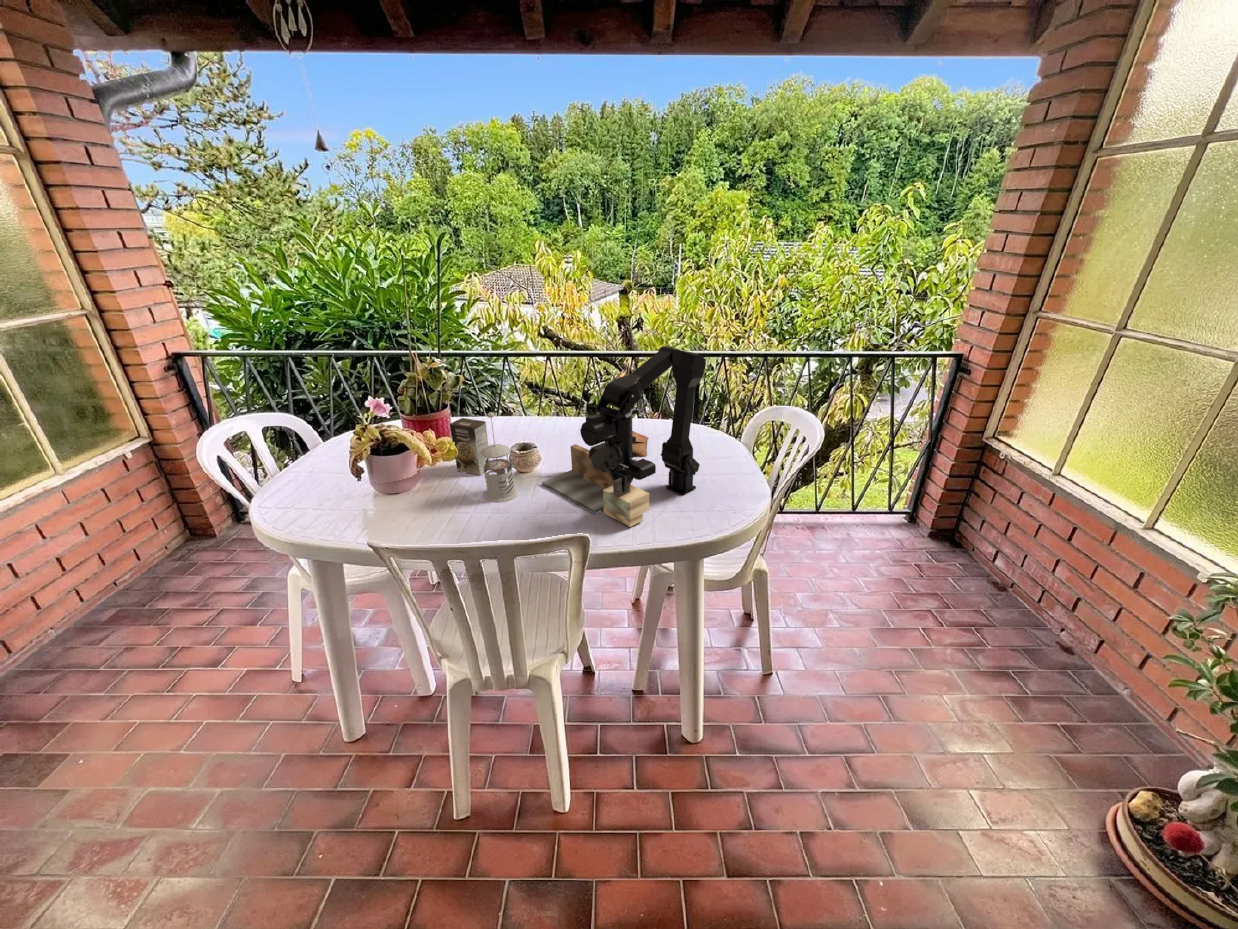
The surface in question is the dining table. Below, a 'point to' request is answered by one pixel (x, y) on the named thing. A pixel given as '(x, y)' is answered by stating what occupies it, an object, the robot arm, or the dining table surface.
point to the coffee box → (470, 445)
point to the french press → (498, 473)
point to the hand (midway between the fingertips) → (621, 490)
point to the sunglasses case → (640, 444)
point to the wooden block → (625, 503)
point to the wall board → (581, 481)
